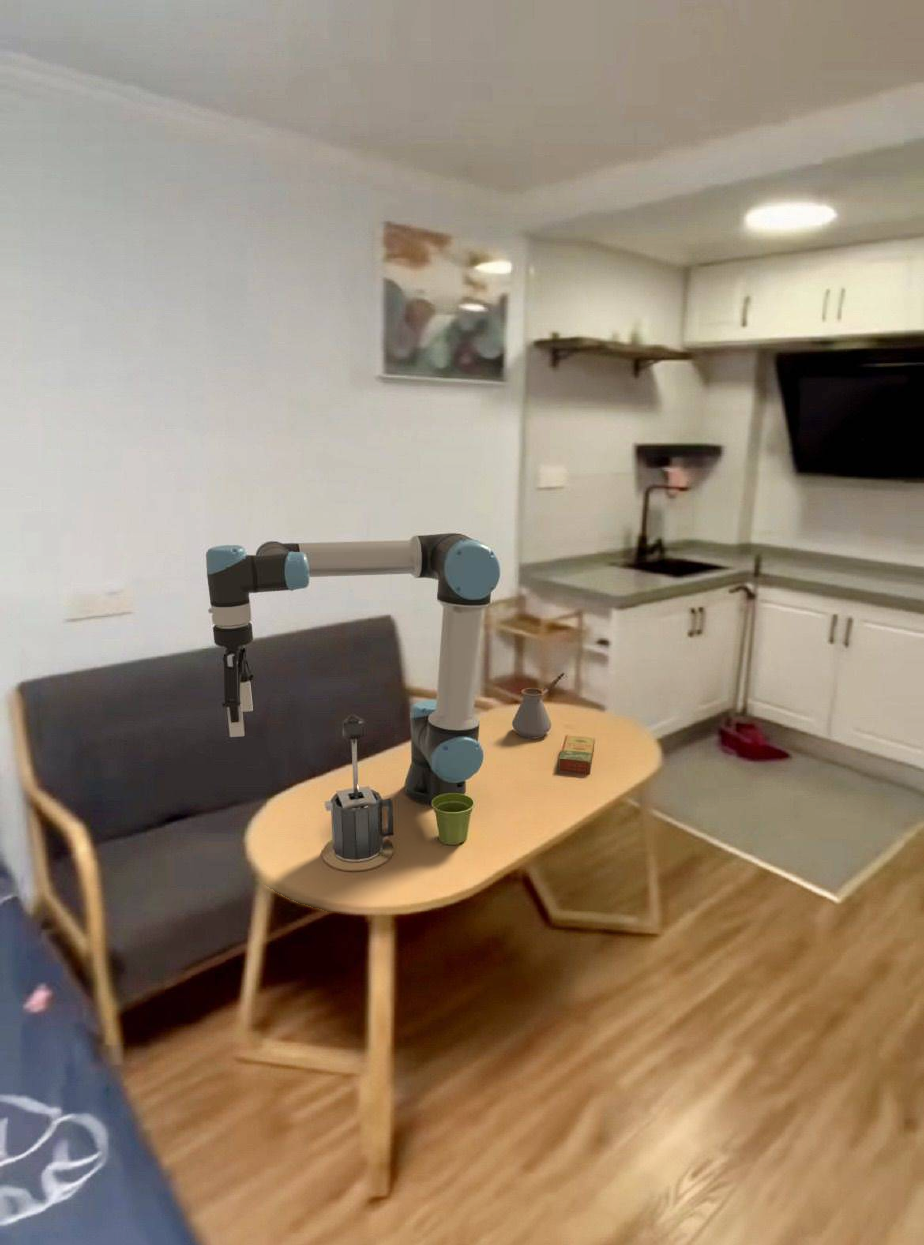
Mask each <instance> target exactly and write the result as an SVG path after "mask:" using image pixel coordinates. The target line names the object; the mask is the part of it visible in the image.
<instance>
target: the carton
mask: <svg viewBox="0 0 924 1245" xmlns="http://www.w3.org/2000/svg"><path fill="white" fill-rule="evenodd" d="M595 742H596V740H595V737H591V736H590V737H589V736H583V735H582V736H579V735H578V736H577V735H569V734H567V735H565V736H564V741H563V745H562V746H561V752H560V754H559V758H558V768H557V769H558V770H557V771H558V772H559V773H568V774H569V773H570V774H580V775H591V769H592V765H593V764H592V763H593V757H594V752H595Z"/></svg>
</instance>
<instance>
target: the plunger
mask: <svg viewBox="0 0 924 1245" xmlns="http://www.w3.org/2000/svg"><path fill="white" fill-rule="evenodd" d="M365 730H366V729H365V719H364V718H362V717H358V716H357V715H356V714H350V715H348V717H347V718H344V719H343V720H342V737H343V738H344V739H347V740H351V758H352V759H351V760H352V762H351V763H352V788H353V791H354V799H350V800H355V799H360V798H359V795H358V788H359V776H358V772H359V770H358V746H357V742H358V741H357V739H361V738H363V737H364V736H365ZM369 806H371V805H369ZM369 806H363V807H356V808H350V809H361V808H366V807H369ZM340 807H341V805H340Z"/></svg>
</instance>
